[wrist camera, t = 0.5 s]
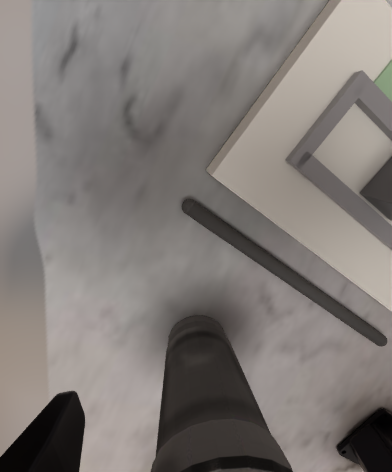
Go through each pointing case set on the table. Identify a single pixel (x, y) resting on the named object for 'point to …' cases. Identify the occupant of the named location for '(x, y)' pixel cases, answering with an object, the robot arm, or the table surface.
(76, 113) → the table surface
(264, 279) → the table surface
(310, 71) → the breaker switch base
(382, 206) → the breaker toggle
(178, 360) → the beverage cup
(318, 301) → the rod
